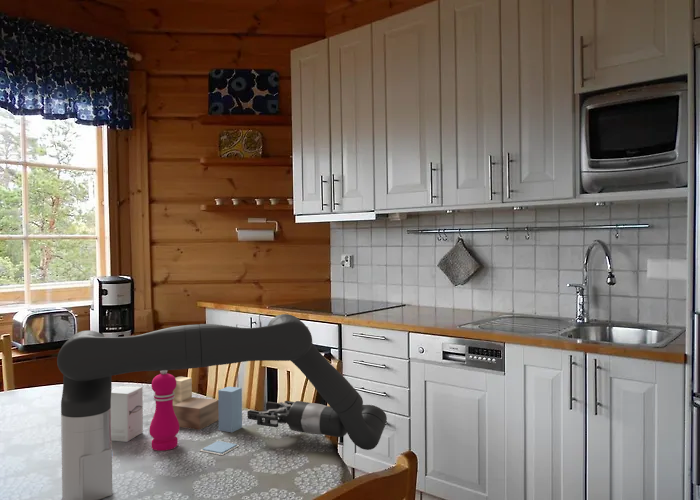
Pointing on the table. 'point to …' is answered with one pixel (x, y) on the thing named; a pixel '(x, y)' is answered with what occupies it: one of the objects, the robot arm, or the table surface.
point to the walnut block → (196, 412)
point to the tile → (219, 448)
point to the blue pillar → (230, 409)
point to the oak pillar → (182, 389)
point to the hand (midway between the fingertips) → (257, 409)
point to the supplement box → (126, 413)
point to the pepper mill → (164, 413)
